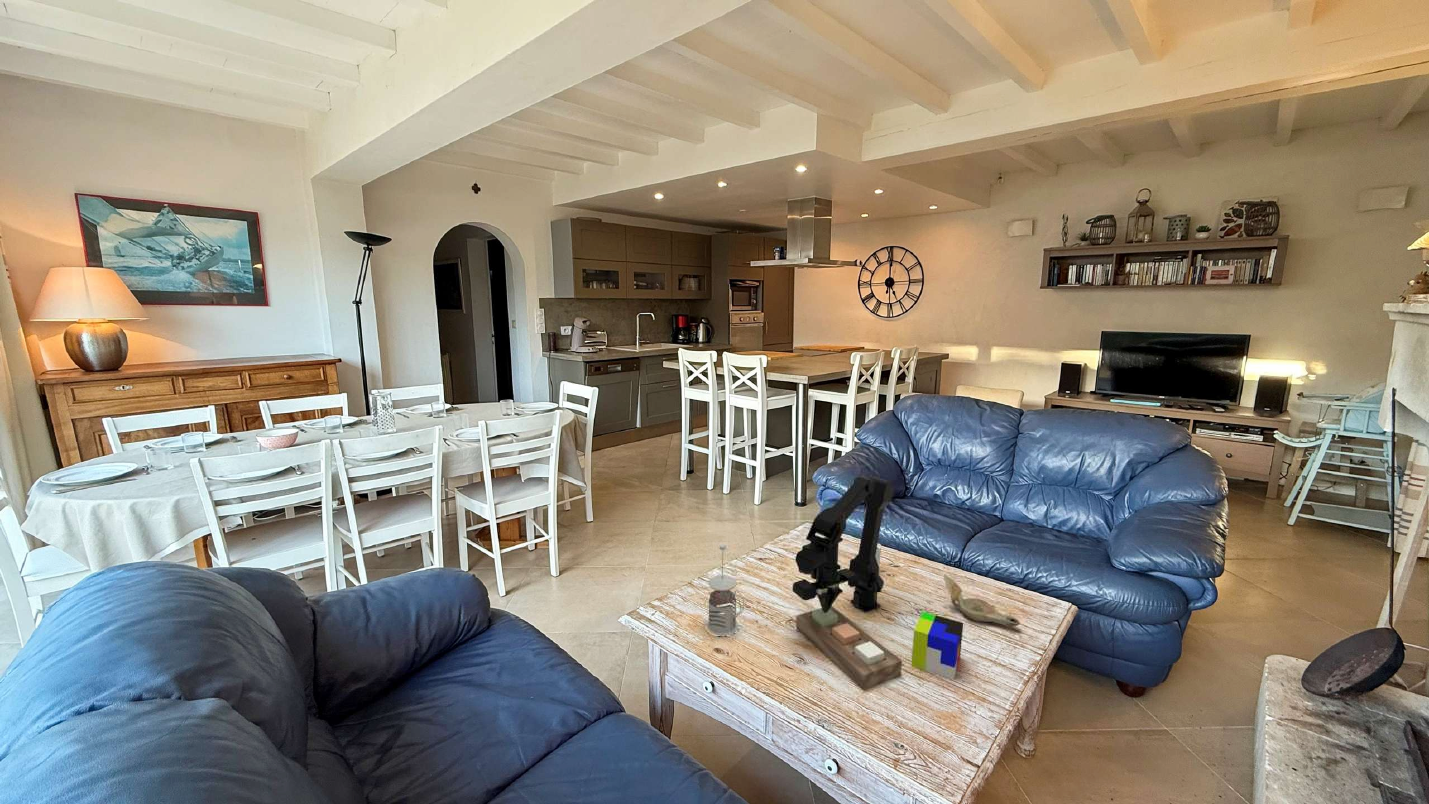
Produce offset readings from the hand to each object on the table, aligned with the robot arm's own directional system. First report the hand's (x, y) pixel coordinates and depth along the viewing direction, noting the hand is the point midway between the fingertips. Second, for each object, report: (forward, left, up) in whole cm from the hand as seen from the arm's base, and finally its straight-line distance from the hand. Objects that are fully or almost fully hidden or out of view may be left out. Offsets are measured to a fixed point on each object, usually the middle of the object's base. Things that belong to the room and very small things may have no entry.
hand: (825, 611), depth 154 cm
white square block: (0, +18, -3) cm, 18 cm away
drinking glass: (-35, -21, -6) cm, 41 cm away
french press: (+24, -14, -6) cm, 29 cm away
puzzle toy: (-18, +23, -6) cm, 30 cm away
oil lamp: (-45, +14, -6) cm, 48 cm away
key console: (0, +9, -6) cm, 11 cm away
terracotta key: (0, +9, -3) cm, 10 cm away
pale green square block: (0, 0, -3) cm, 3 cm away
